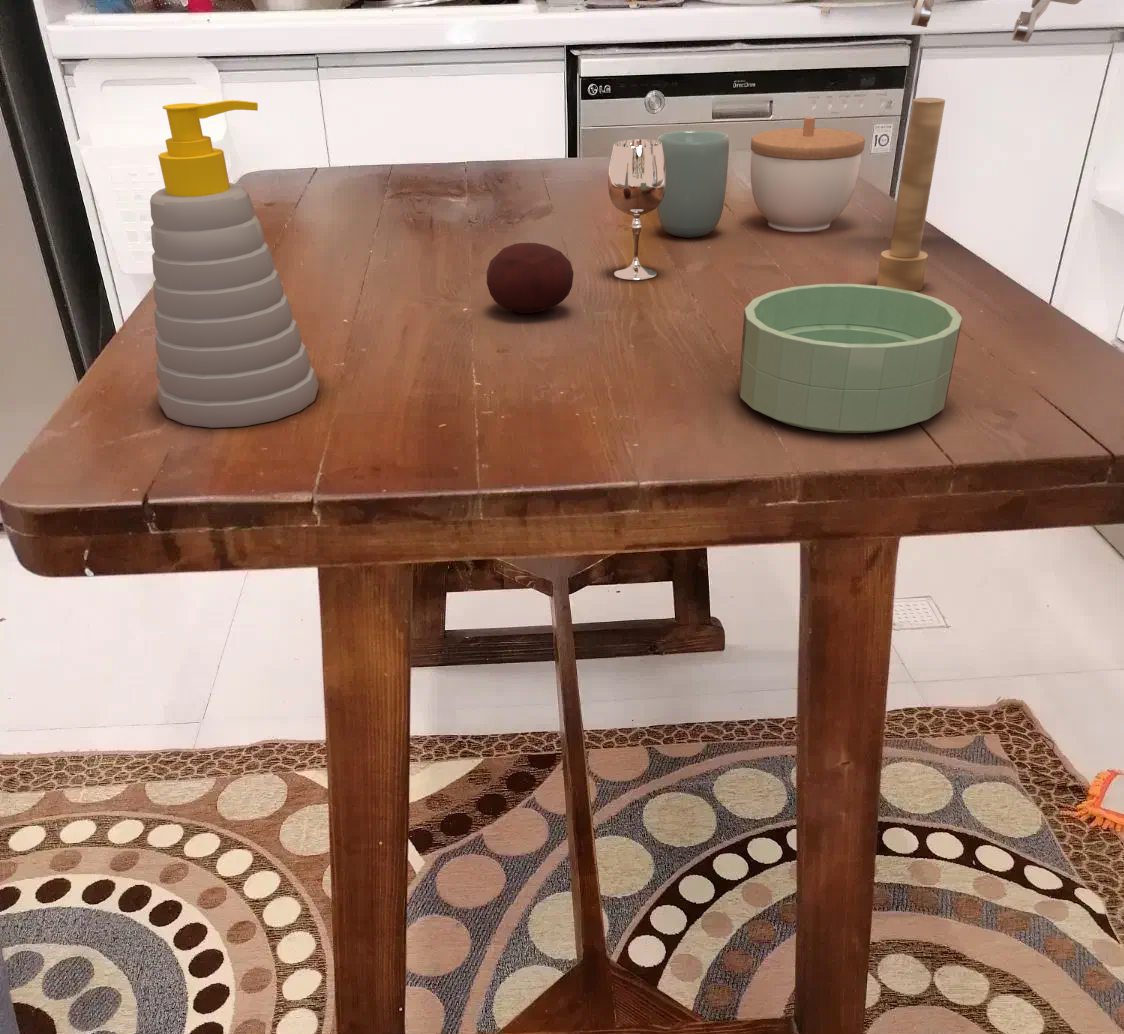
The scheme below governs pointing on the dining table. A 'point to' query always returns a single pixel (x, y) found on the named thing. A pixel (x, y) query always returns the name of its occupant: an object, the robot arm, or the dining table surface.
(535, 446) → the dining table surface
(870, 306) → the mixing bowl
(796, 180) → the lidded bowl
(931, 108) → the muddler
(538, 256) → the potato
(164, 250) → the soap bottle
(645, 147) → the wineglass
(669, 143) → the cup
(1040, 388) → the dining table surface
